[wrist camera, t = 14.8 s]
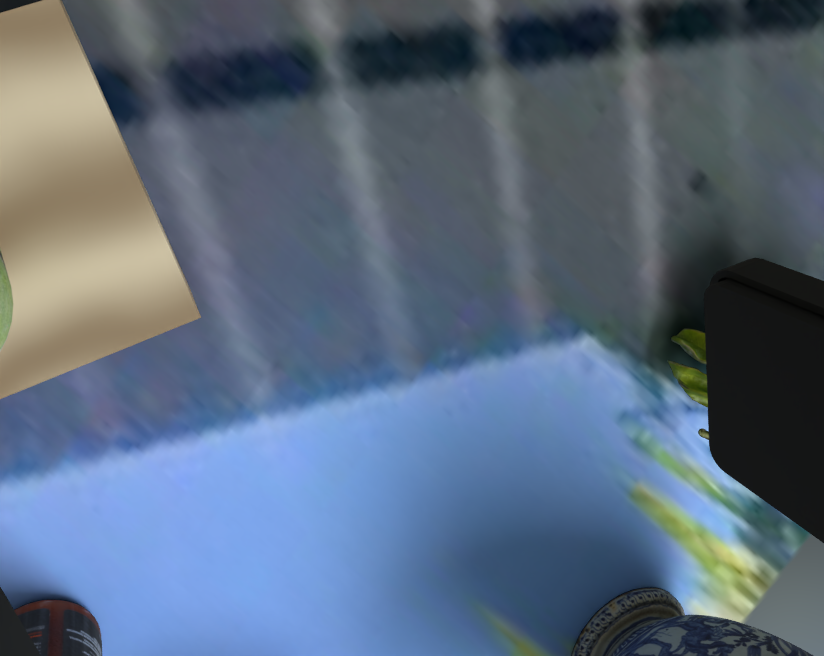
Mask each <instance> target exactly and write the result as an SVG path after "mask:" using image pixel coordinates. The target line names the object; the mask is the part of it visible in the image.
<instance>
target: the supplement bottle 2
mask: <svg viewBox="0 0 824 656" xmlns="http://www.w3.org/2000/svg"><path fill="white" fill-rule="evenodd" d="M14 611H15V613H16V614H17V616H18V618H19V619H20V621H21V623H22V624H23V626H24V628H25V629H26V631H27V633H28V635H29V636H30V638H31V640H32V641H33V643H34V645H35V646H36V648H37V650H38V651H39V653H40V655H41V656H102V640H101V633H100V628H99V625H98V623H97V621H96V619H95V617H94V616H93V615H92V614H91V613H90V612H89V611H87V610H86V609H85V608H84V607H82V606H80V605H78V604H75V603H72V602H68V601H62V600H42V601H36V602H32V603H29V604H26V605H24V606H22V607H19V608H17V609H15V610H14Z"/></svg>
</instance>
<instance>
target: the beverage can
mask: <svg viewBox="0 0 824 656" xmlns="http://www.w3.org/2000/svg"><path fill="white" fill-rule="evenodd" d="M12 314H13V297H12V289H11V284H10V281H9V277H8V274H7V270H6V267H5V263H4V260H3V256H2V253H1V249H0V351H1V349H2V347H3V345H4V343H5V341H6V339H7V337H8V333H9V330H10V326H11V323H12Z"/></svg>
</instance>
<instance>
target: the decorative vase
mask: <svg viewBox="0 0 824 656" xmlns="http://www.w3.org/2000/svg"><path fill="white" fill-rule="evenodd" d="M572 656H813V655H811V654H809V653H808V652H806V651H804V650H802V649H801V648H799V647H797V646H795V645H793V644H791V643H789V642H787V641H785V640H783V639H781V638H779V637H776V636H774V635H772V634H769V633H767V632H764V631H762V630H759V629H756V628H754V627H751V626H748V625H745V624H742V623H739V622H736V621H732V620H728V619H723V618H718V617H712V616H704V615H685V614H684V610H683V608H682V606H681V604H680V603H679V602H678V600H677V599H676V598H675V597H673V596H672V595H671V594H670V593H669V592H667V591H665V590H663V589H659V588H641V589H635V590H632V591H629V592H626V593H624V594H622V595H620V596H618V597H616V598H615V599H613V600H611V601H610V602H609V603H607V604H606V605H605V606H604V607H603V608H601V609H600V610H599V611H598V612H597V613H596V614H595V615H594V616H593V617H592V619H591V620H590V621H589V622H588V624H587V625H586V626H585V628H584V629H583V631H582V632H581V634H580V636H579V638H578V640H577V642H576V644H575V647H574V650H573V653H572Z"/></svg>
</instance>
